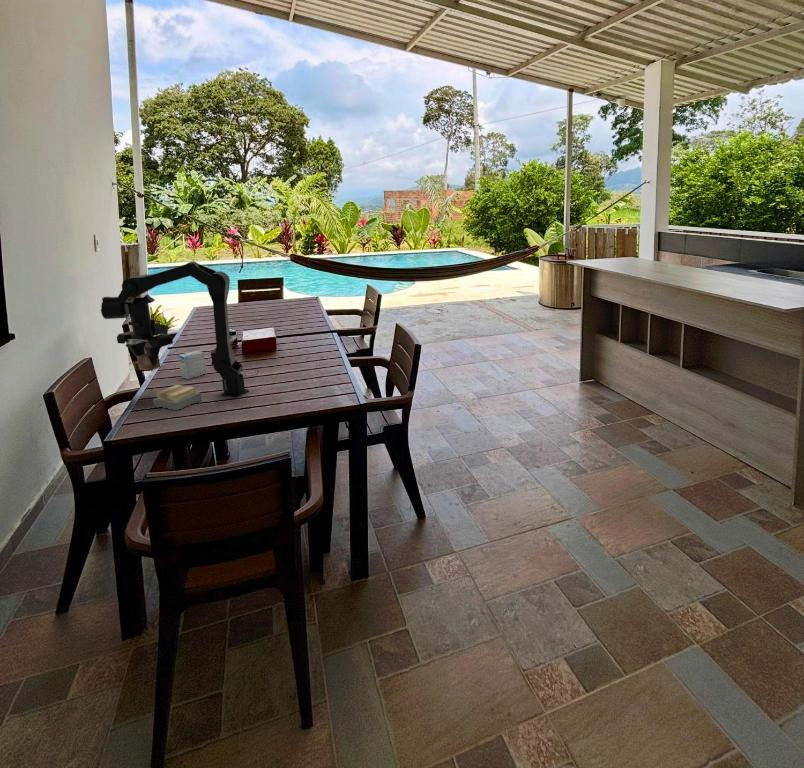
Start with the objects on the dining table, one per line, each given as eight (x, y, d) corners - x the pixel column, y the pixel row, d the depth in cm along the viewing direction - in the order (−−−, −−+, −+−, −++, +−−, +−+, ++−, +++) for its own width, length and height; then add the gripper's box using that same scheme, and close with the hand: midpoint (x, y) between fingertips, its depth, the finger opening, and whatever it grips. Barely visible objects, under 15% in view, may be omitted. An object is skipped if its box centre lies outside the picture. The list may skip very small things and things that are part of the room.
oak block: (195, 393, 177) (194, 387, 176) (176, 401, 170) (175, 395, 170) (177, 390, 180) (176, 384, 180) (157, 398, 174) (156, 392, 173)
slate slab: (201, 400, 178) (200, 392, 178) (177, 410, 170) (176, 403, 169) (178, 396, 182) (177, 389, 182) (154, 406, 174) (152, 399, 173)
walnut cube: (160, 367, 179) (158, 353, 178) (149, 370, 175) (146, 357, 174) (150, 365, 181) (148, 352, 180) (139, 369, 177) (136, 356, 176)
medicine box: (200, 372, 208) (197, 350, 205) (207, 374, 205) (203, 351, 202) (181, 377, 202) (177, 355, 199) (187, 380, 199) (184, 356, 197)
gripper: (182, 314, 176) (189, 361, 181) (140, 310, 184) (148, 356, 189) (154, 321, 166) (162, 370, 171) (111, 317, 174) (121, 365, 179)
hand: (149, 365), depth 178 cm, fingers closed on walnut cube, 4 cm apart
